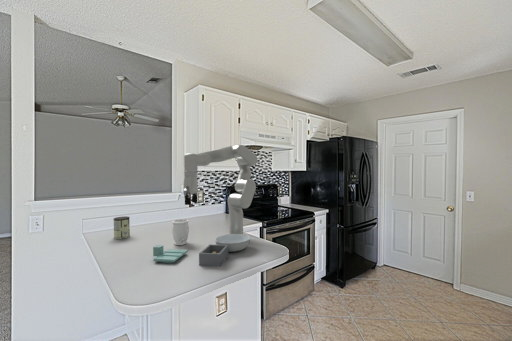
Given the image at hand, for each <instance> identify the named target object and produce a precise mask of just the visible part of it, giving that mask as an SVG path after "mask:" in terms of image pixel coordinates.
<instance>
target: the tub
mask: <svg viewBox="0 0 512 341" xmlns="http://www.w3.org/2000/svg"><path fill="white" fill-rule="evenodd" d="M228 257H229V252H228V245H216V244H212V243H211V244H208V245H207V246H206V247H205V248H204V249H202V250H201V251H200V252H199V253H198V266H208V267H221V266H222V265H223V264H224V263H225V261H226V260H227V259H228Z"/></svg>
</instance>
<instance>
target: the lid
mask: <svg viewBox="0 0 512 341" xmlns="http://www.w3.org/2000/svg"><path fill="white" fill-rule="evenodd" d="M188 251H189V250H188V249H177V248H175V249H174V248H173V249H172V248H169V249H167V250H165V251H164V245H161V244H155V245H154V246H153V248H152V252H153V253H152V254H153V257H154V258H153V261H155V262H156V261H157V262H158V263H167V262H169V263H173V264H174V263H175V262H177V260H179V259H180V258H181V257H182V256H184V255H186V254H187V253H188ZM169 263H168V264H169Z"/></svg>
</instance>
